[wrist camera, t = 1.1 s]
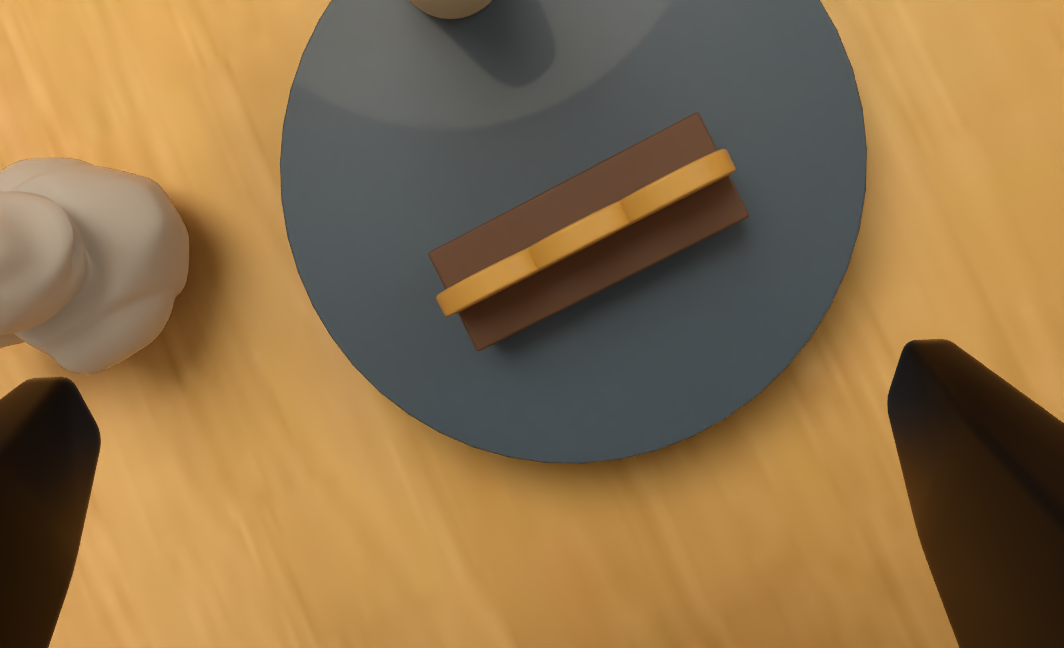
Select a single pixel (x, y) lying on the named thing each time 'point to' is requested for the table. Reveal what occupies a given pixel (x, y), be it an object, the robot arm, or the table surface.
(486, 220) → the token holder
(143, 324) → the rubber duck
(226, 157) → the table surface
